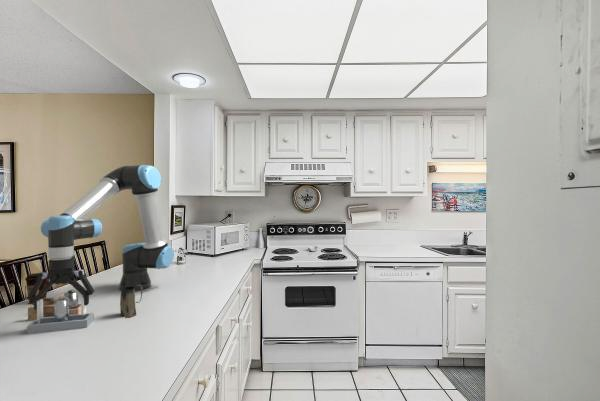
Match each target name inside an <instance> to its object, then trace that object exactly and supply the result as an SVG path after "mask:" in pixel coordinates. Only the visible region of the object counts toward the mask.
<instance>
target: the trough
mask: <svg viewBox="0 0 600 401" xmlns="http://www.w3.org/2000/svg"><path fill="white" fill-rule="evenodd" d="M69 319H70V321H64V322H55V316H54V317H44V318H41V319H40V320H37V319H36V320H34V321H31V323H29V324H28V325H27V326H26V328H27V329H26V330H27V335H31V334H32V335H33V334H41V333H49V332H58V331H67V330H77V329H78V330H79V329H87V328H88V327H89V326H90V325H91V324H92V323H93V322H94V321H95V312H86V313H85V314H84V315H81V314H75V315H69Z"/></svg>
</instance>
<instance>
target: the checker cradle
mask: <svg viewBox="0 0 600 401" xmlns="http://www.w3.org/2000/svg"><path fill="white" fill-rule="evenodd" d="M55 299H56V298H55ZM55 299H54V298H53V297H46V298H44V299H43V317H42V318H44V317H54V300H55ZM36 319H37V310H34V305H33V306H32V305H31V306H29V307H27V319H26V320H25V321H26V322H34V321H35V320H36Z"/></svg>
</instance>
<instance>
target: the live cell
mask: <svg viewBox="0 0 600 401" xmlns="http://www.w3.org/2000/svg"><path fill="white" fill-rule="evenodd" d="M54 316H55V322H64V321H70V319H69V297H65V296H64V295H61V296H58V298H55V300H54Z"/></svg>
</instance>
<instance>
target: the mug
mask: <svg viewBox="0 0 600 401" xmlns="http://www.w3.org/2000/svg"><path fill="white" fill-rule="evenodd" d="M136 286H140V287H141V289H140V300H139V301H136V290H135V287H125V288H122V289H121V290H120V297H119V298H120V301H119V305H120V306H119V307H120V309H119V310H120V316H121V317H124V318H125V319H130V318H134V317H135V316H137V309H136V303H137V304H140V302H141V301H142V298H143V297H142V296H143V289H142V286H141V285H136Z"/></svg>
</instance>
